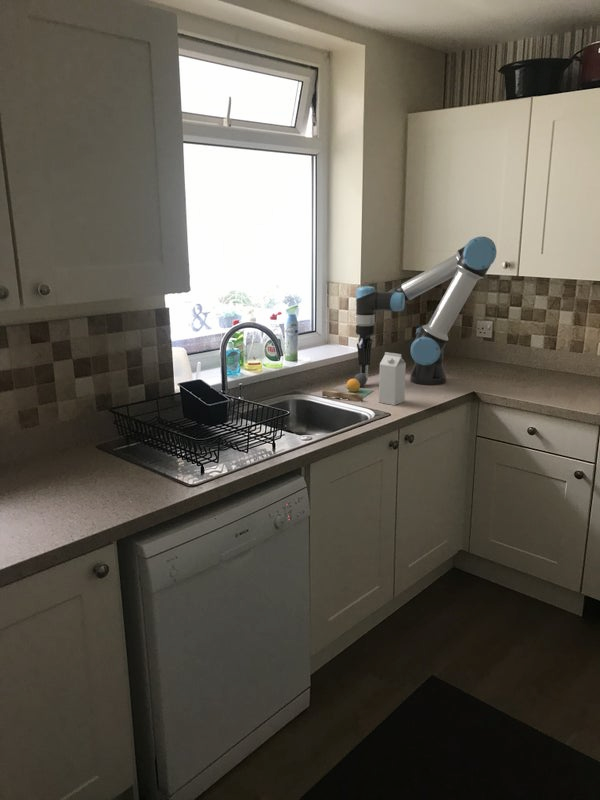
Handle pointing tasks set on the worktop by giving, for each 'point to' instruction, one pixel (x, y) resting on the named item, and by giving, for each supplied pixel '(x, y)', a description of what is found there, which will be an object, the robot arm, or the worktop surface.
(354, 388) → the object ball
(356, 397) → the rail
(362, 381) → the dark gray ball
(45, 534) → the worktop surface
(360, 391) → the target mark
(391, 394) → the milk carton
